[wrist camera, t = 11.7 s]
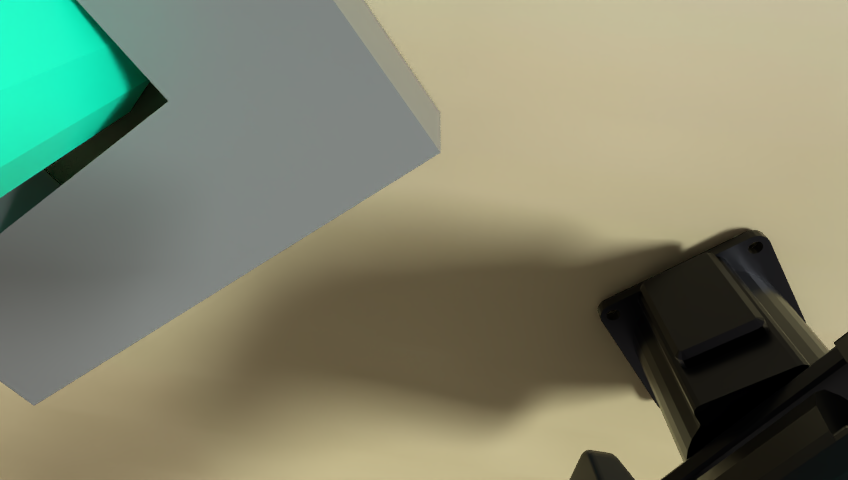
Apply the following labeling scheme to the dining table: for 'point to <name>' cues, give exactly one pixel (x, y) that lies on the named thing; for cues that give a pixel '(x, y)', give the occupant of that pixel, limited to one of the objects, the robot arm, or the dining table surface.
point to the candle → (56, 84)
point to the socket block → (203, 172)
